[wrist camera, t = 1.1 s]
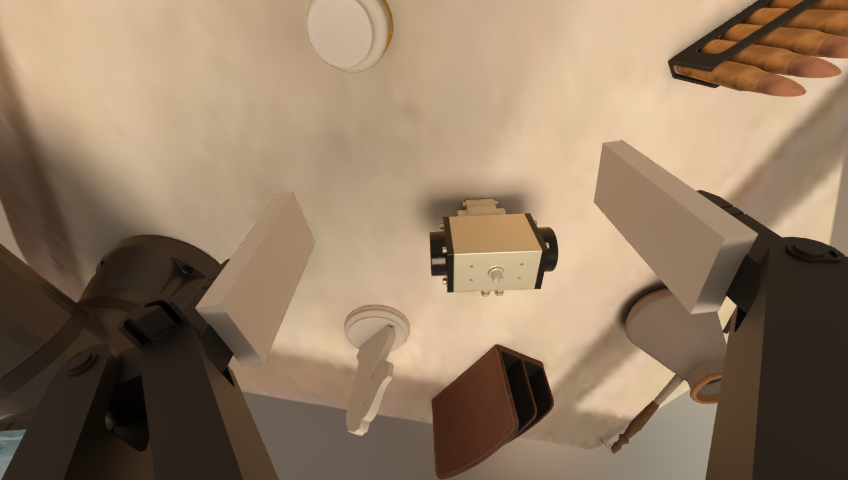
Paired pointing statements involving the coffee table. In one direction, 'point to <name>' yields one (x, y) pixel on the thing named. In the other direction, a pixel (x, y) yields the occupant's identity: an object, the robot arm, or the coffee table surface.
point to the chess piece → (372, 359)
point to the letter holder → (487, 409)
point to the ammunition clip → (769, 47)
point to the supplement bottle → (350, 32)
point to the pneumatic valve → (491, 250)
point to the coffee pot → (676, 350)
